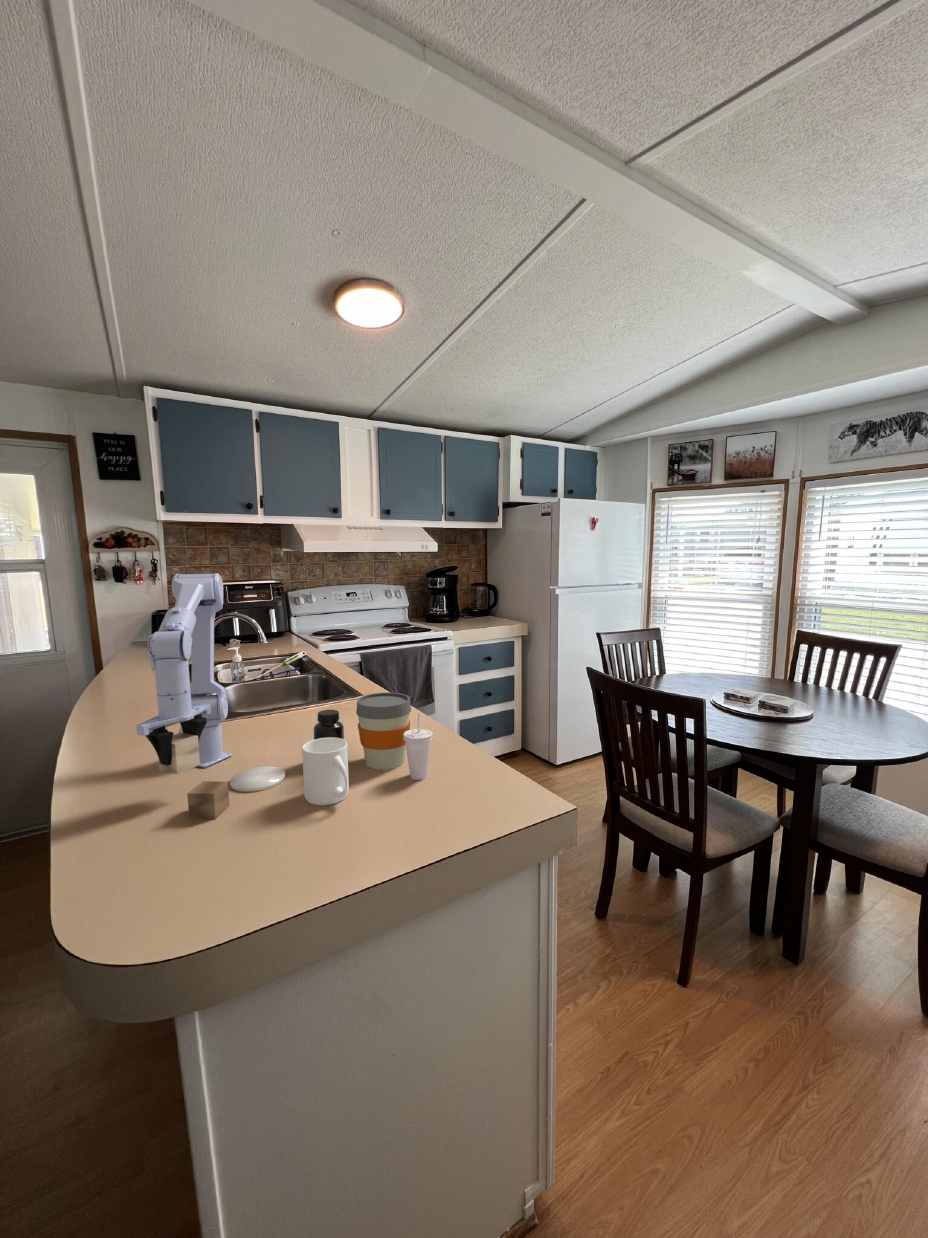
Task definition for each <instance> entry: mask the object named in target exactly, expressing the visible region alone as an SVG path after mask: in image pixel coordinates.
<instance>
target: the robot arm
mask: <svg viewBox="0 0 928 1238" xmlns="http://www.w3.org/2000/svg"><path fill="white" fill-rule="evenodd" d="M171 592H172V596H173V598H174V599H175V604H174V607H171V608H169V609H168V610H167V611H166V613H165V615H164V617H163V620H162V622H161V624H160V626H159V629H158V631H155V632H154V633H153V634H150V635H149V637H148V638H147V639H148V640H147V655H148V658H149V661H150V665H151V669H152V672H154V677H155V689H156V700H157V702H156V703H157V713H158V715H155V716H153V717H151V718H150V719H147V720H145V721H142V722H140V723H137V724H136V726H135V729H136V735H137V736H143V737H145V738H146V739H147V740H148V741H149V742H150V743H151V745H152V747H153V749H154V750H155V752H156V755H157V757H158V761H159V760H160V763H161V764H162V765H167V766H168V765H171V761H172V755H171V744H172V738H173V735H175V732H173V731H170V730H168V729H167V728H168V727H171V726H174V725H177V724H180V727H179V729H178V732H177V733H180V732H181V733H186V734H191V735H196V736H198V743H199V758H200V765H198V766H197V767H199V768H207V767H210V766H211V765H214V764H216V763H218V762H221V761H223V760H226V759H228V758H230V757H232V756H233V754H232V753H231V752H225V751H224V745H223V742H224V741H223V726H222V722H224V721H225V720H226V718H227V717H228V714H229V713H228V712H229V705H228V704H229V702H228V696H227V695H228V694H227V690H226V688H225V687H224V686H222V685H221V684H220V683H218V682H216V681H215V680H214V677H215V675H214V674H215V671H214V670H215V669H214V667H215V618H216V613H218V612H219V611H221V610H222V609H223V605H224V583H223V578H222V576H221V575H220V574H219V573H216V572H215V573H190V574H189V573H186V574H185V573H184V574H182V573H176V574H175V575H173V576H172V579H171ZM190 658H191V681H190V671H189V670H190V668H189V667H190V666H189V660H190ZM207 694H208V695H207ZM194 695H195V696H194Z"/></svg>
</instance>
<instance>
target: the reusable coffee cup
mask: <svg viewBox="0 0 928 1238" xmlns="http://www.w3.org/2000/svg"><path fill="white" fill-rule="evenodd" d="M411 712H412V706H411V699H410V696H409V695H407V694H404V693H399V692H375V693H370V694H366V695H365V694H364V695H362V696H361V697H359V698H357V700H356V716H357V718H358V723H357V730H358V736H359V740H360V741H359V742H360V745H361V746H362V748H363V753H364V754H363V755H364V762H365V765H366V767H368V768H369V769H373V770H379V771H381V770H383V771H385V770H393V769H396V768H399V767H401V766H402V765H404V764H405V761H406V759H405V758H406V753H407V751H406V744H405V740H404V739H403V737H404V736H403V734H404V733H405V732H406V731H408V730H411V729H410V728H411V720H410V713H411Z"/></svg>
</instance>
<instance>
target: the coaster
mask: <svg viewBox="0 0 928 1238" xmlns="http://www.w3.org/2000/svg"><path fill="white" fill-rule="evenodd" d="M285 780H286V771H285V770H284V769H283V768H281V767H278V766H270V765H269V766H257V767H256V766H255V767H251V768H248V769H245V770H242V771H240V772H238V773H235V774H234V775H233V776H232V777H231V778H230V780H229V787H230V789H232V790H234V791H235V792H240V793H253V792H260V791H266V790H268V789H271V788H273V787H276V786H278V785H280V784H281V783H283V782H284V781H285Z"/></svg>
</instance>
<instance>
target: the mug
mask: <svg viewBox="0 0 928 1238" xmlns="http://www.w3.org/2000/svg"><path fill="white" fill-rule="evenodd" d="M301 750H302V766H303V767H302V769H303V772H302V773H303V791H304V799H305V801H306V802H308V803H309V804H311V805H314V806H329V805H334V804H337V803H340V802H342V801H343V800H344V799H345V798H346V797H347V796H348V794H349V790H350V789H349V788H350V784H349V781H350V780H349V758H348V757H349V756H348V755H349V754H348V753H349V752H348V751H349V750H348V741H347V740H345V738H344V739H341V738H332V737H330V738H320V739H315V740H314V739H312V740H310V741H307V742H306V743H304V744H303V745H302V747H301Z"/></svg>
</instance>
